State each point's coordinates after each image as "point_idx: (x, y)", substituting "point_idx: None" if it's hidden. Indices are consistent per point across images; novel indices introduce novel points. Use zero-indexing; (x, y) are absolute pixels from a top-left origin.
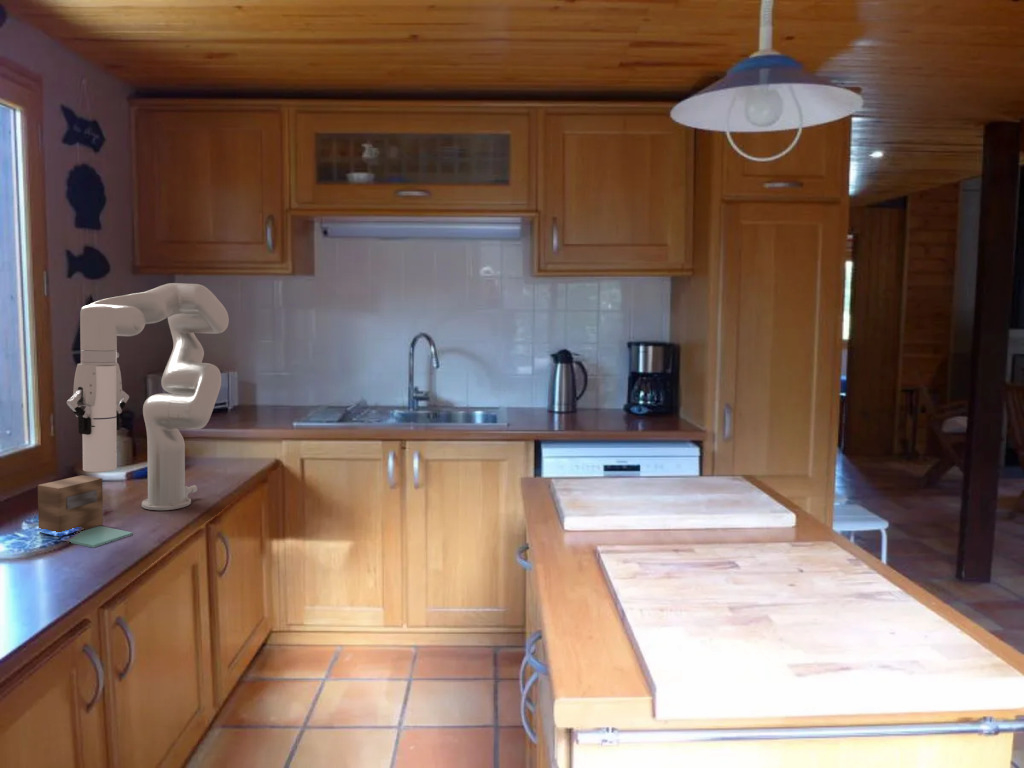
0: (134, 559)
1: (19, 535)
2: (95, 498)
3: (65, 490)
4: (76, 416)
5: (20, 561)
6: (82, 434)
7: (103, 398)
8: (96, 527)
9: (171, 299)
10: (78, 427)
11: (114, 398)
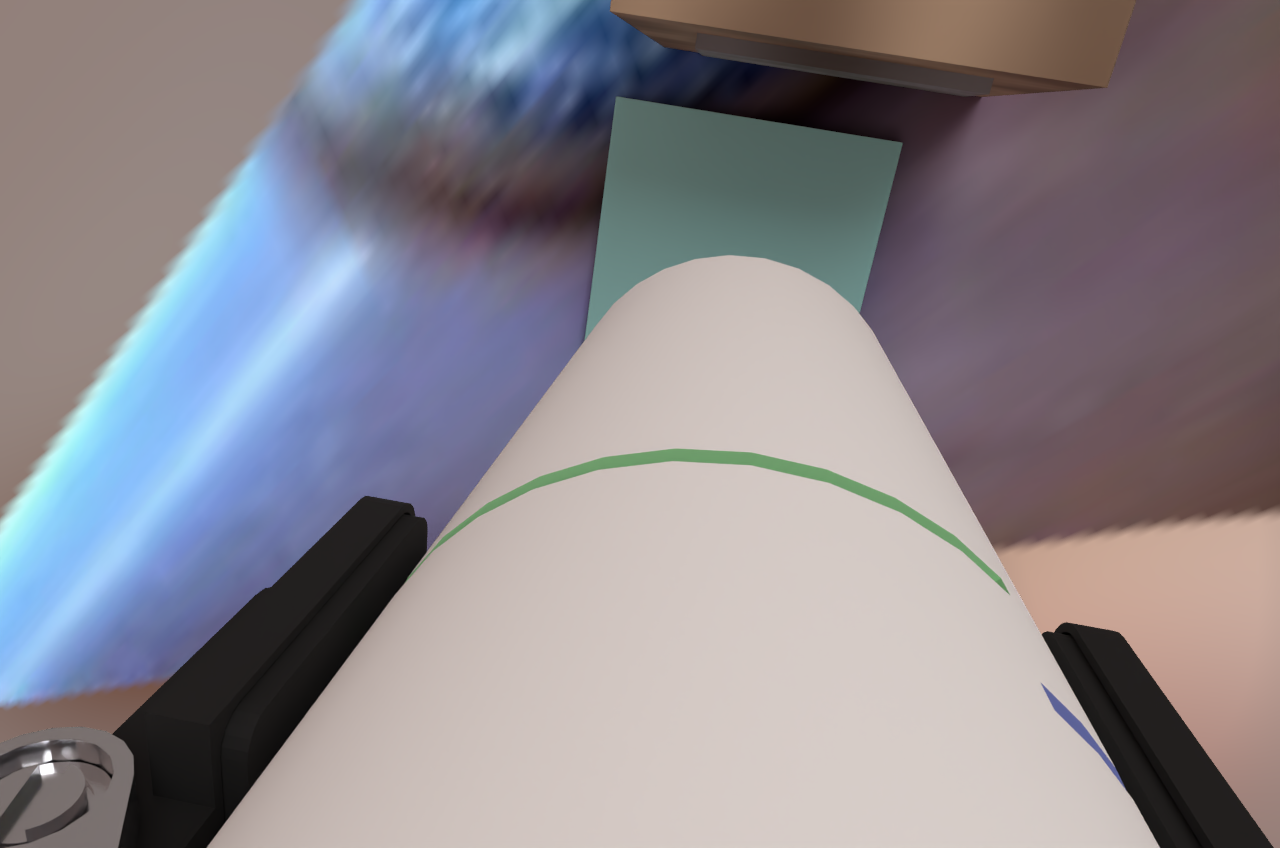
0: None
1: None
2: (958, 94)
3: (686, 26)
4: (32, 739)
5: (298, 181)
6: (501, 455)
7: None
8: (865, 146)
9: None
10: (248, 602)
11: None
